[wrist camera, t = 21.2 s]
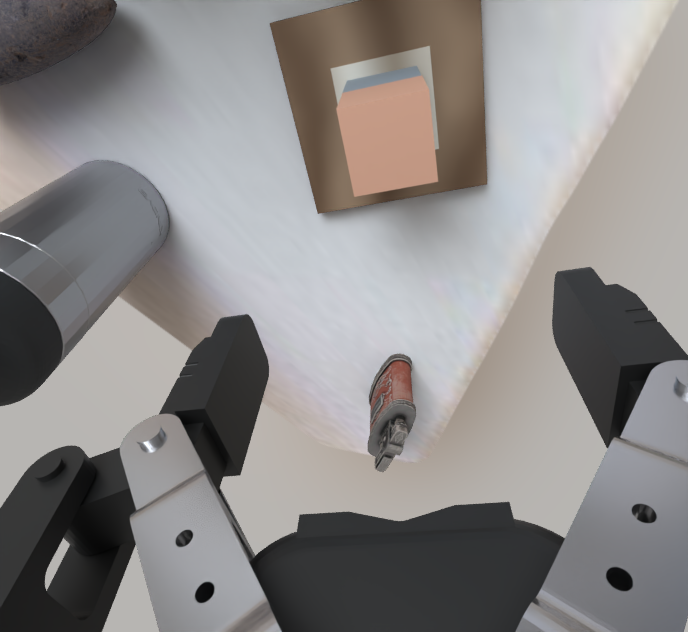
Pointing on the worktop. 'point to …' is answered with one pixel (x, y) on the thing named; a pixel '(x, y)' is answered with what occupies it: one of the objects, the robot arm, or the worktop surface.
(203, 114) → the worktop surface
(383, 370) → the lighter
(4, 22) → the perforated stone tool
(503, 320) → the worktop surface
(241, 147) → the worktop surface
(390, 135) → the terracotta block
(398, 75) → the slate block
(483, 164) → the walnut board
